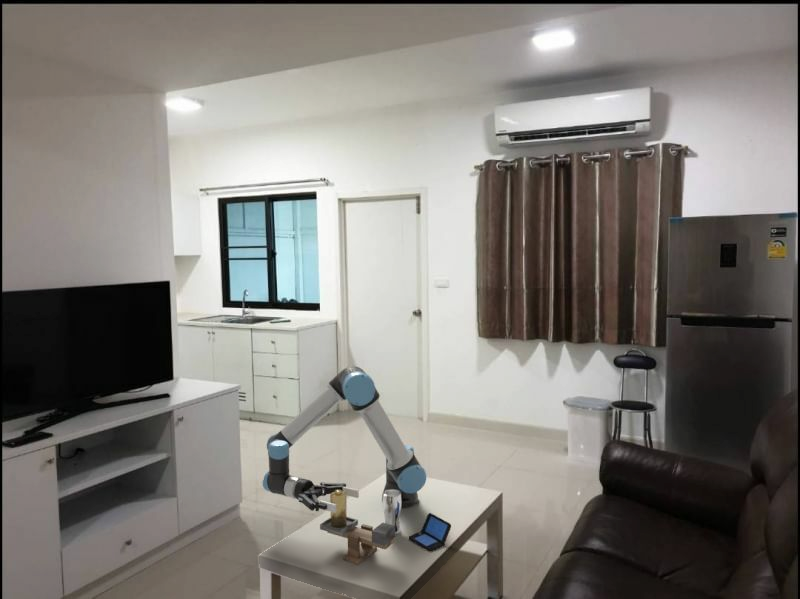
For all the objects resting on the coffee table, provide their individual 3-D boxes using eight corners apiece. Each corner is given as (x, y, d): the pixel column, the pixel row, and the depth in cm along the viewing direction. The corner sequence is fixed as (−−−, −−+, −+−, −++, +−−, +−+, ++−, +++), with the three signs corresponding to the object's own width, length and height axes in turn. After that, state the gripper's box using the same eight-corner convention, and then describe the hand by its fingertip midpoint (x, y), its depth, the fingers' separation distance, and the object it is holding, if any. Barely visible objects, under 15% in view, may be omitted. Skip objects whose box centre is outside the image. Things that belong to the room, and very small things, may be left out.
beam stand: (362, 544, 216) (362, 521, 215) (376, 548, 213) (376, 525, 212) (343, 559, 205) (343, 536, 205) (357, 564, 202) (357, 540, 202)
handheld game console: (407, 539, 220) (406, 520, 219) (429, 530, 227) (429, 511, 226) (429, 553, 210) (429, 533, 210) (452, 543, 217) (452, 524, 216)
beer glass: (403, 528, 228) (403, 490, 227) (397, 536, 221) (397, 497, 220) (386, 525, 230) (386, 487, 229) (380, 533, 224) (380, 495, 222)
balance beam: (336, 522, 219) (336, 507, 219) (397, 539, 207) (397, 524, 206) (320, 533, 211) (319, 518, 211) (382, 551, 198) (382, 536, 198)
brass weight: (337, 519, 217) (336, 486, 215) (349, 522, 214) (349, 489, 213) (327, 525, 212) (327, 492, 211) (340, 529, 209) (340, 495, 208)
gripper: (320, 486, 232) (366, 498, 221) (276, 511, 210) (325, 525, 200) (320, 467, 231) (366, 478, 221) (276, 491, 210) (325, 504, 199)
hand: (347, 501), depth 210 cm, fingers open, 13 cm apart
